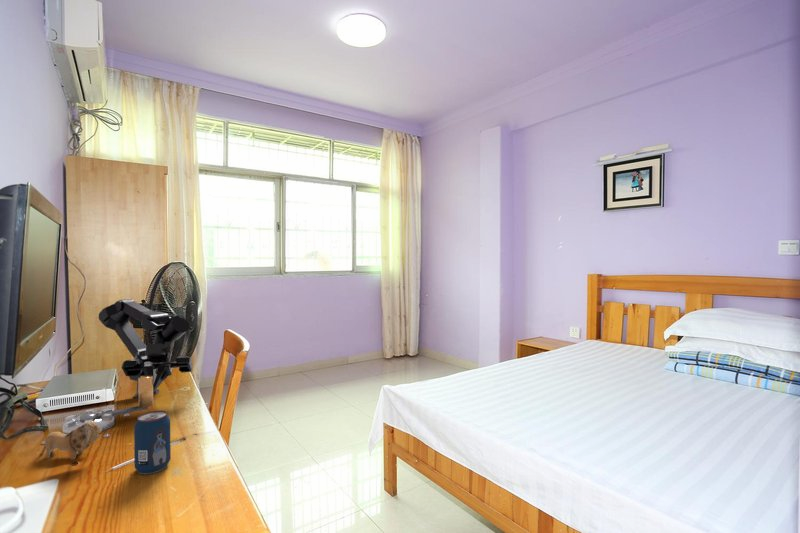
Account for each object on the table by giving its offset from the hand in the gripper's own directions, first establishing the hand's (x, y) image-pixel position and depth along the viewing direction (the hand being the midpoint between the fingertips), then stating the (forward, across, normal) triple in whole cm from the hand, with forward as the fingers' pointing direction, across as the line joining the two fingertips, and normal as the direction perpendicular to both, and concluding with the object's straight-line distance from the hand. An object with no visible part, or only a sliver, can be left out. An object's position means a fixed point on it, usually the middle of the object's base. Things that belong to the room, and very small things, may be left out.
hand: (152, 390), depth 120 cm
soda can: (+30, +10, -20) cm, 37 cm away
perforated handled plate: (+10, -8, -2) cm, 13 cm away
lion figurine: (+23, -10, -13) cm, 29 cm away
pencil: (+25, +6, -14) cm, 30 cm away
